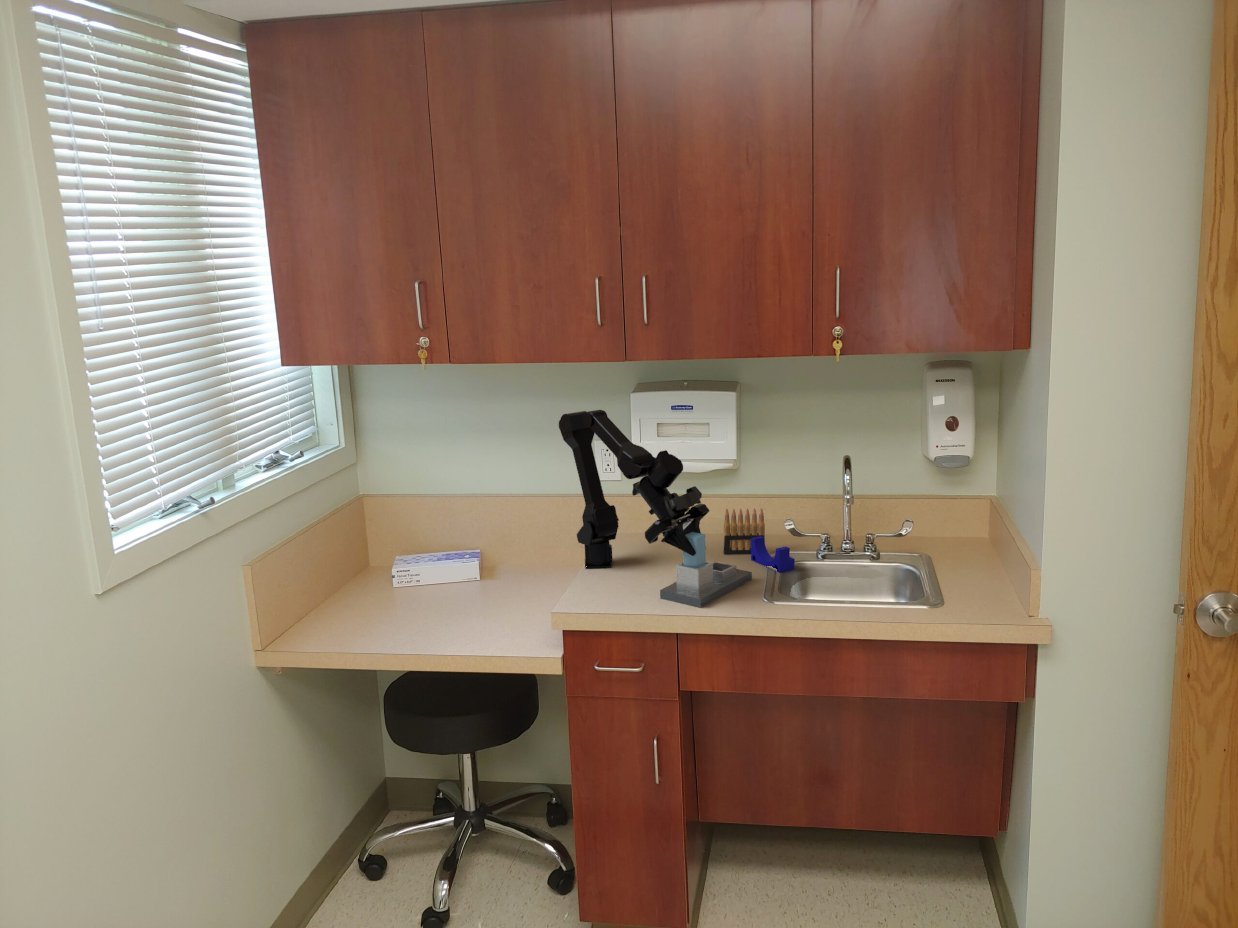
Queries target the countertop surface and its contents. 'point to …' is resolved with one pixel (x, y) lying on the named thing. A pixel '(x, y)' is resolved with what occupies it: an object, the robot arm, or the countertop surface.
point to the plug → (699, 547)
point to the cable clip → (762, 556)
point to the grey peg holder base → (704, 583)
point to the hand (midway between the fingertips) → (699, 552)
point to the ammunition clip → (742, 532)
